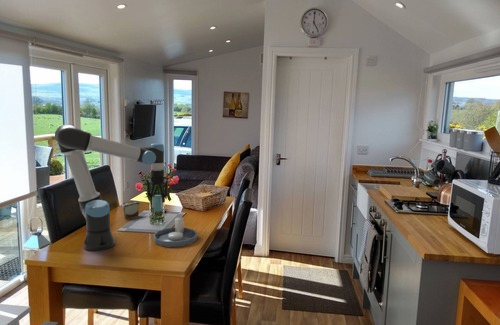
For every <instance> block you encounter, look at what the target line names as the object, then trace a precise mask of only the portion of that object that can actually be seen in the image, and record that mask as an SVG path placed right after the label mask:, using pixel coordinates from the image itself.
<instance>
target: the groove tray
mask: <svg viewBox="0 0 500 325" xmlns="http://www.w3.org/2000/svg"><path fill="white" fill-rule="evenodd" d="M198 237H199V236H198V232H197V231H196V230H195V229H193V228H188V227H184V234H183V233H181V232H175V226H174V227H168V228H167V227H166V228H163V229H159V230H157V231H156V232H155V233H153V235H152V238H153V242H154V243H155V244H156V245H158V246H161V247H166V248H178V247H180V246H181V247H185V245H186V246H188V245H191V243H192V244H194V243H195V242H196V241H197V239H198ZM193 242H194V243H193Z"/></svg>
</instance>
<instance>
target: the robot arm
mask: <svg viewBox="0 0 500 325" xmlns="http://www.w3.org/2000/svg"><path fill="white" fill-rule="evenodd" d="M54 139H55V140H56V142H57V144H58V147H59V150H60V153H61V154H63V155H65V158H66V160H67V163H68V166H69V169H70V172H71V175H72V178H73V180H74V183H75V186H76V190H77V192H78V195H79V197H78V203H79V209H80V212H81V214H82V215H83V217H84V219H85V222H86V235H85V237H84V241H83V249H85V250H86V251H87V250H88V251H93V252H94V251H97V252H98V251H104V250H108V249H110V248H112V247H113V246H114V245H115V244H116V242H115V238H114V235H113V233H112V230H111V214H110V213H111V212H110V210H111V208H110V204H109V202H108V201H107V200H103V198H102V196H101V192H98V191H97V190H96V187H95V184H94V181H93V177H92V174H91V171H90V170H89V165H88V163H87V160H86V157H85V154H84V152H87V151H91V152H96V153H100V154H105V155H109V156H113V157H116V158H121V159H126V160H131V161H132V162H133V161H134V162H138V163H142V164H145V165H147V166H148V165H150V168H151V170H150V175H151V176H150V178H147V179H145V181H146V185H147V192H146V193H147V196H149V197H150V203H151V204H152V206H151V208H153V209H154V200H153V196H154V195H155V192H156V187H157V186H158V187H159V190H160V193H161V194H160V195H162V197H161V208H162V209H163V208H164V203H165V202H166V197H168V196H169V182H170V180H169V179H166V178H165V170H164V169H165V146H164V145H165V144H163V143H160V142H159V143H157V142H155V143H154V142H153V143H151V144H150V146H148V147H138V146H133V145H129V144H126V143H123V142H118V141H114V140H110V139H106V138H104V137H99V136H95V135H93V134H92V133H91V132H87V131H85V130H82V129H80V128H78V127H76V126H75V125H73V124H70V123H67V124H62V125H60V126H58V127H57V129H56V131H55V133H54ZM151 182H152V184H151ZM151 185H152V186H151Z"/></svg>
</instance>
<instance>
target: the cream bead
mask: <svg viewBox="0 0 500 325" xmlns="http://www.w3.org/2000/svg"><path fill="white" fill-rule="evenodd" d="M184 219H185V218H184V217H182V216H181V217H180V216H179V217H178V216H177V217H175V218H174V227H175V232H181V233H183V234H184V228H185V223H184V222H185V220H184Z"/></svg>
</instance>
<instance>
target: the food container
mask: <svg viewBox="0 0 500 325" xmlns="http://www.w3.org/2000/svg"><path fill="white" fill-rule="evenodd" d="M140 203H141V202H140V201H138V200H129V201H128V200H127V201H124V202H122V205H121V208H122V209H123V216H124V220H129V219H133V218H137V217H139V212H140Z"/></svg>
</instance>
